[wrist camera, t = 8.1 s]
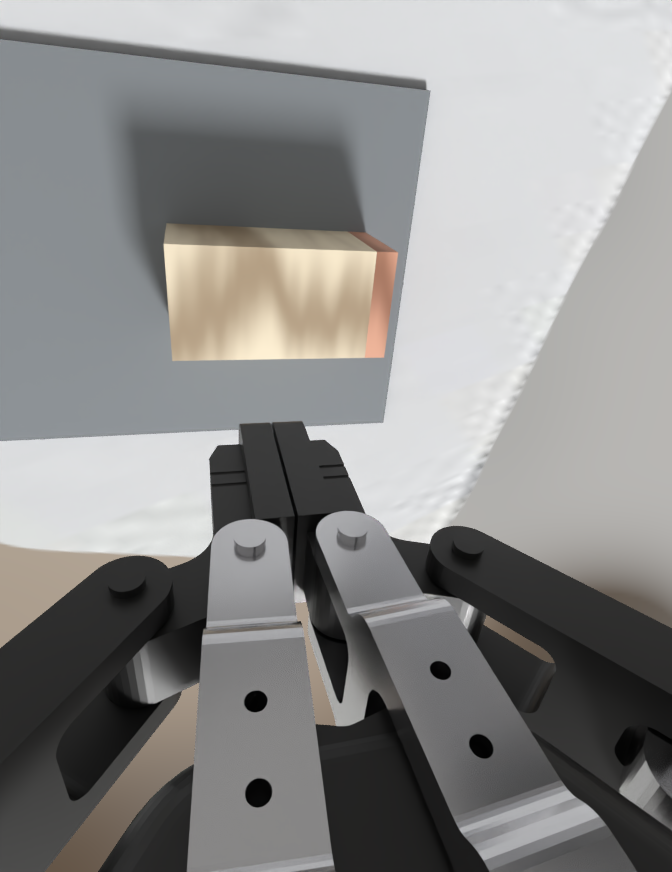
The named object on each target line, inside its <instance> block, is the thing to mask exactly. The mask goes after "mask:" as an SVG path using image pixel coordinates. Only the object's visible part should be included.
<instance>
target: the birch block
mask: <svg viewBox="0 0 672 872" xmlns="http://www.w3.org/2000/svg"><path fill="white" fill-rule="evenodd" d="M164 257H165V270H166V283H167V296H168V310H169V323H170V336H171V349H172V361H199V360H262V359H325V358H384V354H385V347H386V339H387V332H388V325H389V317H390V310H391V302H392V295H393V287H394V280H395V272H396V265H397V258H398V252H397V251H395V250H393V249H392V248H390V247H389V246H387V245H385V244H384V243H382V242H380V241H379V240H377V239H376V238H374V237H372V236H371V235H369V234H368V233H366V232H346V231H324V230H302V229H281V228H259V227H237V226H215V225H194V224H172V223H166V230H165V237H164Z"/></svg>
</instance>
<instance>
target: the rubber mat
mask: <svg viewBox="0 0 672 872" xmlns="http://www.w3.org/2000/svg"><path fill="white" fill-rule="evenodd" d="M429 97H430V91H429V90H421V89H413V88H404V87H396V86H388V85H379V84H371V83H362V82H354V81H346V80H337V79H329V78H321V77H312V76H304V75H296V74H287V73H279V72H270V71H262V70H254V69H245V68H237V67H229V66H220V65H212V64H204V63H195V62H187V61H178V60H170V59H162V58H153V57H145V56H137V55H128V54H120V53H112V52H103V51H95V50H86V49H78V48H70V47H61V46H53V45H45V44H36V43H28V42H20V41H11V40H3V39H0V441H12V440H32V439H53V438H74V437H94V436H115V435H136V434H156V433H177V432H198V431H218V430H239V424H243V423H267V422H270V424H271V423H272V422H289V421H302V422H303V424H304V426H322V425H342V424H363V423H383V420H384V413H385V406H386V399H387V392H388V385H389V378H390V371H391V364H392V357H393V350H394V343H395V336H396V329H397V322H398V315H399V308H400V301H401V294H402V287H403V280H404V273H405V266H406V259H407V252H408V245H409V238H410V231H411V224H412V216H413V209H414V202H415V195H416V188H417V181H418V174H419V167H420V160H421V153H422V146H423V139H424V132H425V125H426V118H427V111H428V104H429ZM166 223H172V224H194V225H215V226H237V227H259V228H281V229H302V230H324V231H346V232H366V233H368V234H369V235H371V236H372V237H374V238H376V239H377V240H379V241H380V242H382V243H384V244H385V245H387V246H389V247H390V248H392V249H393V250H395V251H397V252H398V258H397V265H396V272H395V280H394V287H393V295H392V302H391V310H390V317H389V325H388V332H387V339H386V347H385V354H384V358H325V359H262V360H199V361H172V349H171V336H170V323H169V310H168V296H167V283H166V270H165V257H164V237H165V230H166Z"/></svg>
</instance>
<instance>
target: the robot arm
mask: <svg viewBox="0 0 672 872" xmlns="http://www.w3.org/2000/svg"><path fill="white" fill-rule="evenodd" d="M209 460H210V482H211V505H212V523H213V538H212V541H211V543H210V545H209V546H208V547H207V548H206V550H205V551H203V552H202V553H201V554H200V555H199V556H197V557H196V558H194V559H192V560H190V561H188V562H186V563H183V564H180V565H178V566H175V567H172V568H169V569H168V568H167V566H166V565H164V564H163V563H162V562H160V561H159V560H157V559H154V558H151V557H146V556H129V557H124V558H119V559H116V560H114V561H111V562H108V563H107V564H105V565H103V566H101V567H100V568H98V569H97V570H96V571H94V572H93V573H92V574H91V575H89V576H88V577H87V578H86V579H85V580H83V581H82V582H81V583H80V584H78V585H77V586H76V587H75V588H74V589H72V590H71V591H70V592H69V593H67V594H66V595H65V596H64V597H63V598H61V599H60V600H59V601H58V602H56V603H55V604H54V605H53V606H52V607H50V608H49V609H48V610H47V611H46V612H44V613H43V614H42V615H40V616H39V617H38V618H37V619H36V620H34V621H33V622H32V623H31V624H29V625H28V626H27V627H26V628H25V629H23V630H22V631H21V632H20V633H18V634H17V635H16V636H15V637H14V638H12V639H11V640H10V641H9V642H8V643H6V644H5V645H4V646H3V647H1V648H0V872H45V870H46V869H47V868H48V867H49V865H50V864H51V863H52V862H53V860H54V859H55V858H56V856H57V855H58V854H59V853H60V851H61V850H62V849H63V847H64V846H65V845H66V844H67V842H68V841H69V840H70V839H71V837H72V836H73V835H74V833H75V832H76V831H77V830H78V828H79V827H80V826H81V825H82V823H83V822H84V821H85V819H86V818H87V817H88V816H89V815H90V813H91V812H92V810H93V809H94V808H95V806H96V805H97V804H98V803H99V802H100V801H101V799H102V798H103V797H104V795H105V794H106V793H107V792H108V790H109V789H110V788H111V786H112V785H113V784H114V783H115V781H116V780H117V779H118V778H119V776H120V775H121V774H122V772H123V771H124V770H125V769H126V767H127V766H128V765H129V764H130V762H131V761H132V760H133V758H134V757H135V756H136V754H137V753H138V752H139V751H140V750H141V748H142V747H143V746H144V744H145V743H146V742H147V740H148V739H149V738H150V737H151V735H152V734H153V733H154V732H155V730H156V729H157V728H158V727H159V725H160V724H161V723H162V722H163V720H164V719H165V718H166V716H167V715H168V714H169V713H170V711H171V710H172V709H173V708H174V706H175V705H176V703H177V702H178V700H179V698H180V696H181V692H182V690H184V689H187V688H189V687H191V686H193V685H195V684H197V683H199V695H198V710H197V726H196V741H195V756H194V764H193V765H192V766H190V767H188V768H187V769H185V770H184V771H182V772H180V773H179V774H178V775H177V776H175V777H174V778H173V779H172V780H171V781H169V782H168V783H167V784H165V785H164V786H163V787H162V788H161V789H160V790H159V791H158V792H157V793H156V794H155V795H154V796H153V797H152V798H151V799H150V800H149V801H148V802H147V804H146V805H145V806H144V807H143V809H142V810H141V811H140V812H139V813H138V814H137V815H136V817H135V818H134V820H133V821H132V822H131V824H130V825H129V827H128V828H127V830H126V831H125V833H124V834H123V835H122V837H121V838H120V840H119V841H118V843H117V844H116V846H115V847H114V849H113V850H112V852H111V853H110V855H109V856H108V858H107V859H106V861H105V862H104V864H103V865H102V867H101V868H100V870H99V871H98V872H672V628H670V627H668V626H666V625H664V624H662V623H660V622H658V621H656V620H654V619H652V618H650V617H648V616H646V615H644V614H642V613H640V612H638V611H637V610H634V609H632V608H631V607H629V606H627V605H625V604H623V603H620V602H619V601H617V600H615V599H613V598H611V597H609V596H607V595H605V594H603V593H601V592H599V591H597V590H595V589H593V588H591V587H589V586H587V585H585V584H583V583H581V582H579V581H577V580H575V579H573V578H571V577H569V576H567V575H565V574H563V573H561V572H559V571H558V570H555V569H554V568H551V567H550V566H548V565H546V564H544V563H542V562H540V561H538V560H536V559H534V558H532V557H530V556H528V555H526V554H524V553H522V552H520V551H518V550H516V549H514V548H512V547H510V546H508V545H506V544H504V543H502V542H500V541H498V540H496V539H494V538H492V537H490V536H488V535H486V534H485V533H482V532H480V531H478V530H475V529H472V528H468V527H463V526H450V527H445V528H442V529H440V530H438V531H437V532H436V533H435V534H434V535H433V536H432V538H431V542H430V544H426V543H418V542H411V541H405V540H400V539H396V538H393V537H390V536H389V534H388V533H387V531H386V529H385V528H384V526H383V525H382V524H381V523H380V522H379V521H378V520H376V519H375V518H373V517H371V516H369V515H367V514H365V512H364V509H363V507H362V505H361V502H360V500H359V498H358V496H357V493H356V491H355V489H354V486H353V484H352V482H351V480H350V478H349V477H348V473H347V470H346V468H345V467H344V464H343V461H342V459H341V457H340V454H339V452H338V451H337V450H336V449H335V448H334V447H333V446H331V445H330V444H329V443H328V442H327V441H325V440H313V441H310V440H309V437H308V434H307V432H306V429H305V426H304V424H303V422H302V421H289V422H272V423H271V424H270V422H267V423H243V424H239V444H238V445H218V446H217V448H216V449H215V451H214V452H213V454H212V455H211V457H210V458H209ZM301 602H307V606H308V611H309V621H308V635H309V639H310V642H311V645H312V648H313V651H314V654H315V657H316V660H317V664H318V667H319V670H320V673H321V676H322V679H323V682H324V685H325V688H326V691H327V694H328V698H329V701H330V704H331V707H332V710H333V713H334V717H335V722H336V726H330V725H318V724H315V719H314V718H315V717H314V711H313V710H314V709H313V703H312V694H311V686H310V679H309V671H308V663H307V655H306V647H305V640H304V632H303V627H302V623H301V621H299V622H297V616H296V608H295V603H301ZM486 615H488V616H490V617H491V618H493V619H495V620H497V621H498V622H500V623H502V624H503V625H505V626H507V627H508V628H510V629H512V630H513V631H515V632H517V633H519V634H520V635H522V636H524V637H525V638H527V639H529V640H530V641H532V642H534V643H536V644H537V645H539V646H541V647H542V648H544V649H545V650H546V651H547V652H548V653H549V654H550V655H551V657H552V658H553V660H554V662H555V663H548V662H545V661H543V660H541V659H539V658H538V657H536V656H534V655H533V654H531V653H529V652H527V651H526V650H524V649H523V648H521V647H519V646H518V645H516V644H514V643H512V642H511V641H509V640H508V639H506V638H504V637H503V636H501V635H499V634H498V633H496V632H494V631H493V630H491V629H489V628H488V627H486V626H484V625H483V624H484V621H485V618H486Z"/></svg>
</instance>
